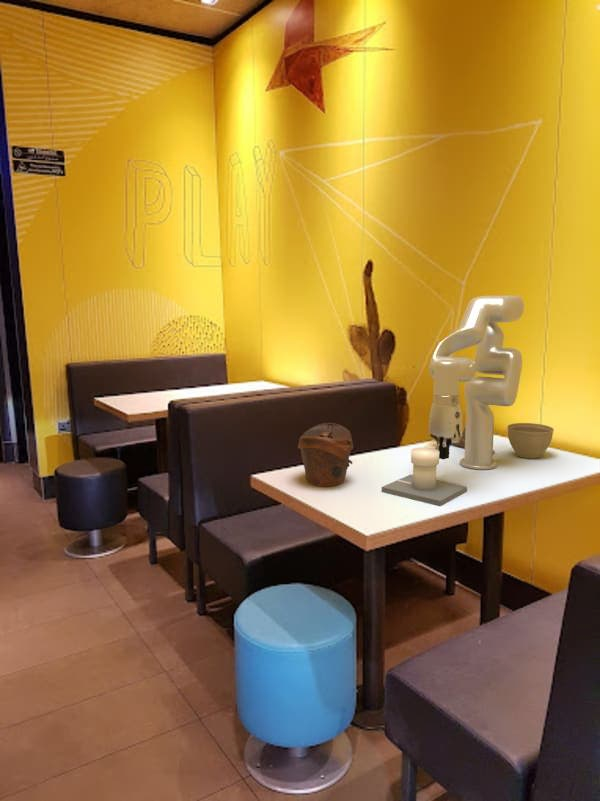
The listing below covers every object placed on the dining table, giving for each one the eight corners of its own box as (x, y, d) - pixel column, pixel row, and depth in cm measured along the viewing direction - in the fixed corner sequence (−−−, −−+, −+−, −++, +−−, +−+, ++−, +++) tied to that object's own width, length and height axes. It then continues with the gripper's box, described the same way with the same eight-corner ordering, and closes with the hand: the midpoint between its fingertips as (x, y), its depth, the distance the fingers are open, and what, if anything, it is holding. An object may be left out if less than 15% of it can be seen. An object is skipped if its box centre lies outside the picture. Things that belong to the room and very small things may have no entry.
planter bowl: (497, 455, 224) (499, 427, 222) (519, 448, 235) (520, 421, 233) (539, 464, 212) (540, 434, 210) (559, 455, 223) (561, 427, 221)
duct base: (410, 478, 196) (410, 452, 195) (466, 491, 183) (468, 463, 182) (381, 491, 184) (381, 463, 182) (440, 506, 171) (441, 475, 169)
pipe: (450, 441, 246) (451, 417, 244) (482, 450, 232) (483, 425, 230) (439, 443, 243) (440, 419, 241) (471, 452, 229) (472, 427, 227)
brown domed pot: (312, 493, 182) (312, 436, 179) (289, 476, 200) (289, 423, 198) (364, 487, 189) (365, 431, 186) (336, 470, 207) (337, 420, 204)
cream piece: (434, 468, 176) (435, 454, 175) (407, 465, 180) (407, 451, 179) (449, 454, 192) (450, 441, 191) (424, 451, 196) (424, 438, 195)
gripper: (473, 402, 178) (470, 461, 181) (435, 395, 190) (434, 451, 193) (456, 405, 174) (454, 465, 177) (419, 398, 186) (417, 455, 189)
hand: (443, 458), depth 185 cm, fingers closed
